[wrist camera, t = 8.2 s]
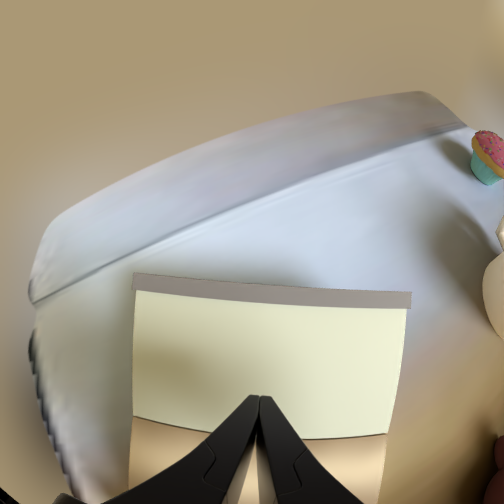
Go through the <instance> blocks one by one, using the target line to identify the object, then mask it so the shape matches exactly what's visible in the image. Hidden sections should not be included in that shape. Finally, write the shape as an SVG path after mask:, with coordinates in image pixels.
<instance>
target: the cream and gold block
mask: <svg viewBox="0 0 504 504" xmlns="http://www.w3.org/2000/svg"><path fill="white" fill-rule="evenodd" d="M211 433H212V432H208V431H202V430H196V429H190V428H185V427H180V426H175V425H171V424H166V423H162V422H158V421H153V420H149V419H146V418H142V417H138V416H134V417H133V419H132V429H131V441H130V456H129V477H128V490H130V489H132V488H133V487H135V486H137V485H139V484H141V483H142V482H144V481H146V480H148V479H149V478H151V477H153V476H155V475H156V474H158V473H160V472H161V471H163V470H164V469H166V468H168V467H169V466H171V465H172V464H174V463H176V462H177V461H179V460H180V459H181V458H183V457H184V456H186V455H187V454H189V453H190V452H191V451H192V450H193V449H194V448H196V447H197V446H198V445H199V444H200V443H201V442H202V441H204V440H205V439H206V438H207V437H208V436H209V435H210V434H211ZM302 441H303V442H304V443H305V445H306V446H307V447H308V449H309V450H310V451H311V452H312V454H313V455H314V456H315V457H316V459H317V460H318V461H319V462H320V463H321V465H322V466H323V467H324V468H325V469H326V470H327V471H328V472H329V473H330V474H331V475H333V476H334V477H335V478H336V479H337V480H338V481H339V482H340V483H341V484H342V485H343V486H345V487H346V488H347V489H348V490H349V491H350V492H351V493H353V494H354V495H355V496H356V497H357V498H358V499H359V500H361V501H362V502H363V503H364V504H377V501H378V496H379V491H380V485H381V480H382V474H383V467H384V460H385V452H386V444H387V434H385V433H381V434H373V435H364V436H354V437H340V438H319V439H302ZM238 504H259V490H258V476H257V460H256V441H255V446H254V450H253V454H252V457H251V461H250V464H249V468H248V471H247V475H246V478H245V481H244V485H243V488H242V491H241V495H240V498H239V501H238Z"/></svg>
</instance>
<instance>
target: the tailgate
mask: <svg viewBox="0 0 504 504" xmlns="http://www.w3.org/2000/svg"><path fill="white" fill-rule="evenodd" d="M132 289H133V290H136V300H135V313H134V329H133V354H132V400H133V415H135V416H138V417H142V418H146V419H149V420H153V421H158V422H162V423H166V424H171V425H175V426H180V427H185V428H190V429H196V430H202V431H208V432H213V431H214V430H215V429H216V428H217V427H218V426H219V425H220V424H221V423H222V422H223V421H224V420H225V419H226V418H227V417H228V416H229V415H230V414H231V413H232V412H233V411H234V410H235V409H236V408H237V407H238V406H239V405H240V404H241V403H242V402H243V401H244V400H245V398H246V397H247V396H248V395H250V394H252V395H259V396H262V395H264V396H271V397H272V398H273V399H274V401H275V402H276V404H277V405H278V407H279V408H280V410H281V411H282V413H283V414H284V415H285V417H286V418H287V420H288V421H289V423H290V424H291V425H292V427H293V428H294V430H295V431H296V432H297V434H298V435H299V436H300V438H301V439H319V438H340V437H354V436H364V435H373V434H381V433H388V429H389V425H390V421H391V416H392V412H393V407H394V402H395V397H396V392H397V386H398V380H399V374H400V368H401V361H402V353H403V344H404V335H405V323H406V309H411V294H412V292H398V291H369V290H346V289H326V288H309V287H292V286H277V285H263V284H250V283H237V282H225V281H213V280H202V279H191V278H181V277H171V276H161V275H152V274H143V273H134V275H133V285H132ZM256 433H257V432H256Z"/></svg>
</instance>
